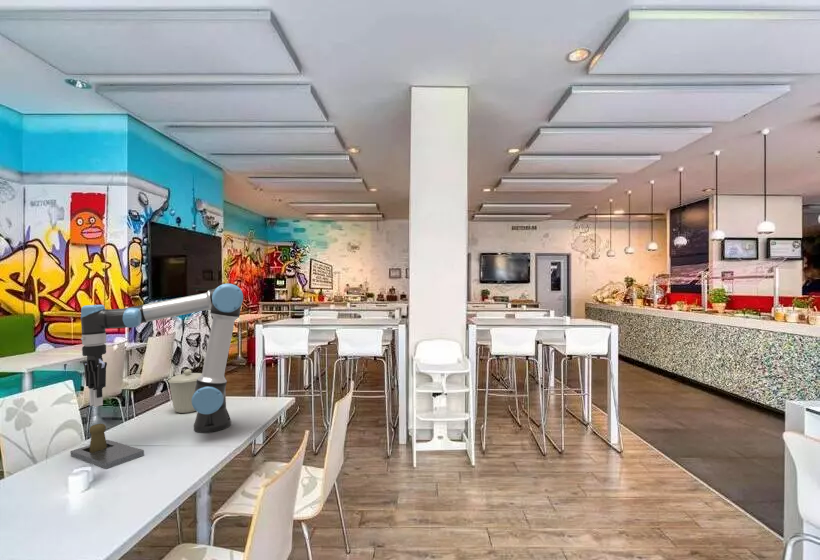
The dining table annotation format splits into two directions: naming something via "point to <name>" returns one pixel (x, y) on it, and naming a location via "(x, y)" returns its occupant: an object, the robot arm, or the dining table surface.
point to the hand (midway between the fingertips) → (96, 405)
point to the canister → (183, 391)
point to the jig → (108, 454)
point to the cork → (97, 438)
